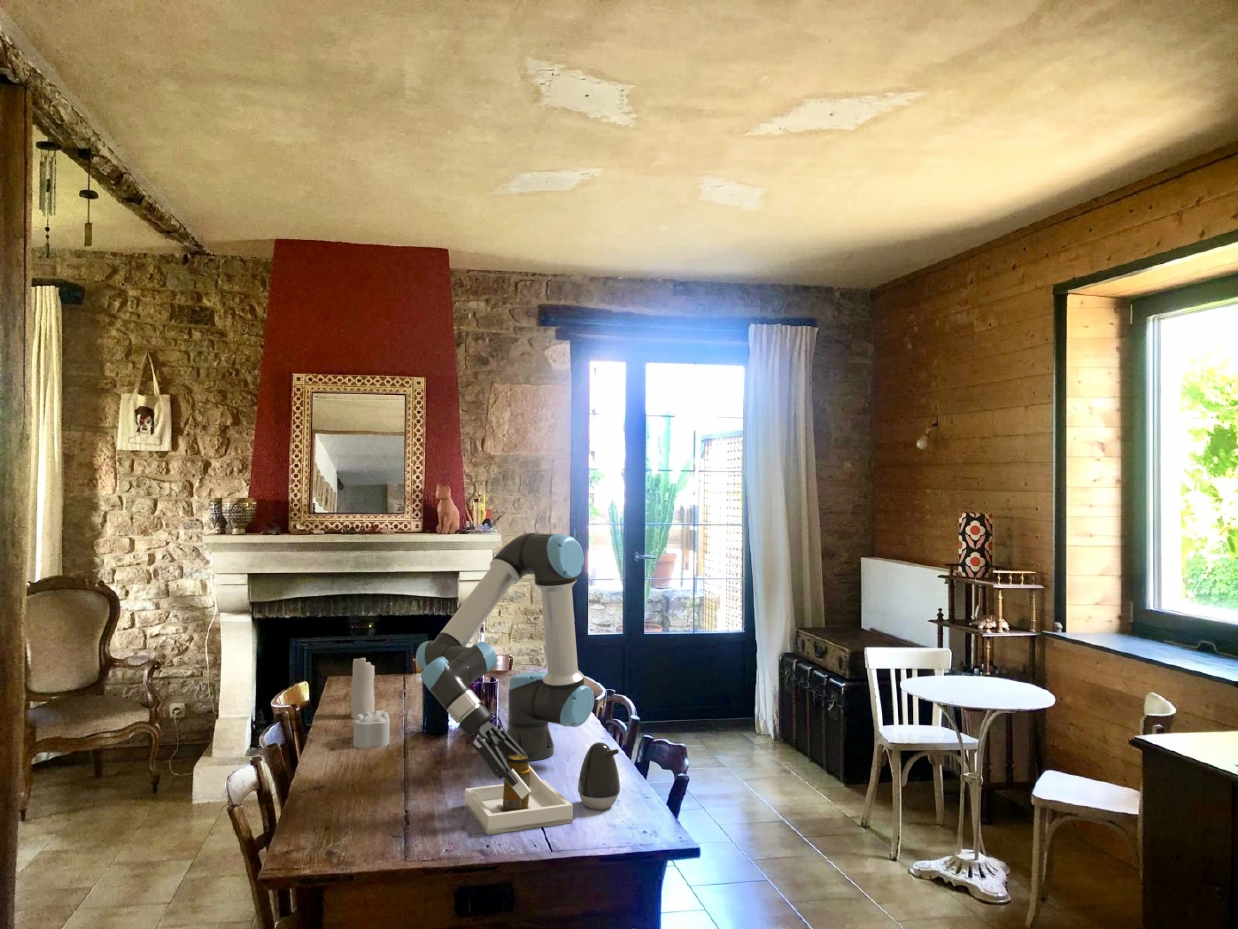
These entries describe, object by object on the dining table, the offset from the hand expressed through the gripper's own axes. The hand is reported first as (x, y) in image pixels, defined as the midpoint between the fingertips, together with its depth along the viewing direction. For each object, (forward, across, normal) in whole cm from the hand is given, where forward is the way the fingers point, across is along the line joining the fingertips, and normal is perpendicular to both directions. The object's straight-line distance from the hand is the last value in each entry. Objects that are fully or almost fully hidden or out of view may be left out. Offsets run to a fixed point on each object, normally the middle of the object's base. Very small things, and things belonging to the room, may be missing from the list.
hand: (532, 789), depth 209 cm
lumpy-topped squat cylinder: (-44, -42, -52) cm, 80 cm away
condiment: (+1, +1, -6) cm, 6 cm away
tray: (+2, 0, -7) cm, 7 cm away
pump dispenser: (+14, -11, +5) cm, 18 cm away
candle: (-56, -72, -65) cm, 112 cm away
